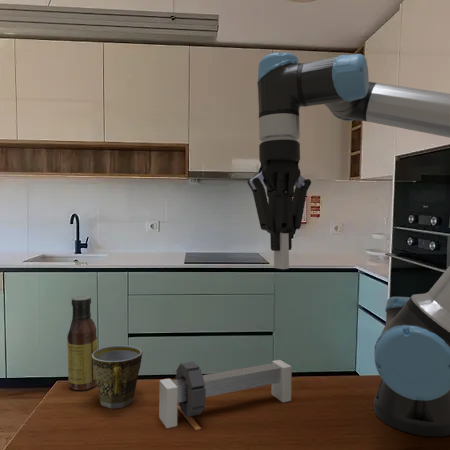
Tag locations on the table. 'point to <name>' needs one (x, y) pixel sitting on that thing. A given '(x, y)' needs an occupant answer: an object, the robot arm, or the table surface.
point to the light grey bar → (233, 380)
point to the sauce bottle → (81, 345)
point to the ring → (192, 388)
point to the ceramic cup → (117, 374)
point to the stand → (170, 418)
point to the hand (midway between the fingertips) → (281, 268)
